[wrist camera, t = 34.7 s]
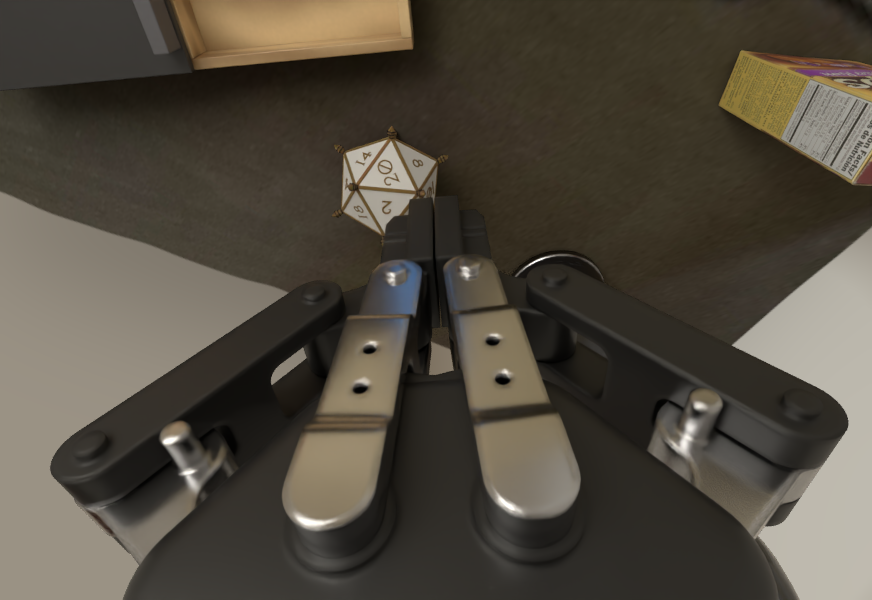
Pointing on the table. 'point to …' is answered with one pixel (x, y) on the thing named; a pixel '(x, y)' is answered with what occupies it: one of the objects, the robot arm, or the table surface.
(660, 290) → the table surface
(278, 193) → the table surface
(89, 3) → the lid
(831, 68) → the candy box
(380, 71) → the table surface
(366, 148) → the game die
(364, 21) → the case
